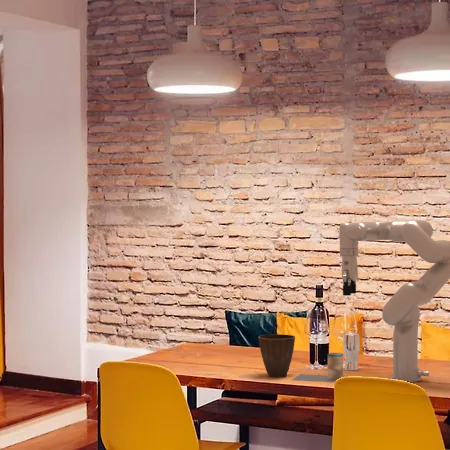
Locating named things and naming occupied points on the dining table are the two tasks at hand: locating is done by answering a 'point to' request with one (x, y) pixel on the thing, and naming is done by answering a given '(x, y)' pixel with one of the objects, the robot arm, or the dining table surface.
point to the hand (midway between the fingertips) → (349, 294)
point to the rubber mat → (313, 378)
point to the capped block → (335, 366)
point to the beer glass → (351, 351)
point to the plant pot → (277, 353)
